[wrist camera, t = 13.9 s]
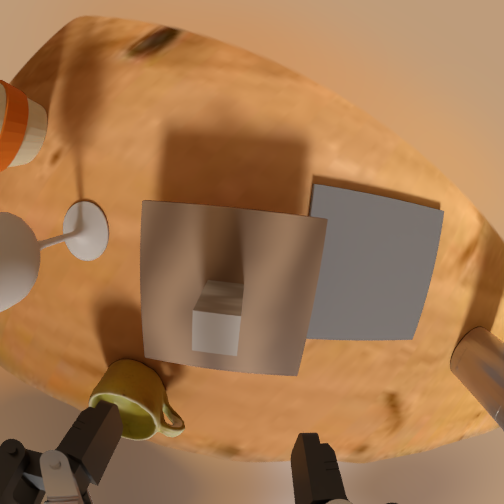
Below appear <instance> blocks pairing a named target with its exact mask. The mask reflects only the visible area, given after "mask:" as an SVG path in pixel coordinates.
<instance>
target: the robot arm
mask: <svg viewBox="0 0 504 504" xmlns="http://www.w3.org/2000/svg"><path fill="white" fill-rule="evenodd" d="M450 368H451V371H452V373H453V374H454V375H455V376H456V377H457V378H458V379H459V380H460V381H461V382H462V383H463V385H464V386H465V387H466V388H467V389H468V390H469V391H470V392H471V393H472V395H473V396H474V397H475V398H476V399H477V400H478V401H479V402H480V404H481V405H482V406H483V407H484V408H485V409H486V410H487V412H488V413H489V414H490V415H491V416H492V417H493V419H494V420H495V421H496V422H497V423H498V424H499V426H500V427H501V428H502V429H503V431H504V342H502V341H501V340H500V339H498V338H497V337H496V336H494V335H493V334H492V333H490V332H489V331H488V330H486V329H485V328H483V327H477V328H475V329H473V330H471V331H470V332H469V333H468V334H467V335H466V336H465V337H464V338H463V339H462V340H461V341H460V343H459V344H458V346H457V347H456V349H455V351H454V353H453V356H452V358H451V363H450ZM122 432H123V424H122V420H121V417H120V413H119V409H118V406H117V405H116V404H113V403H110V402H107V401H104V400H100V401H99V402H98V404H97V405H96V407H95V408H93V407H88V408H87V409H85V410H84V411H82V412H81V413H80V415H79V416H78V418H77V420H76V421H75V422H74V424H73V425H72V427H71V428H70V429H69V431H68V432H67V434H66V435H65V437H64V438H63V440H62V441H61V443H60V445H59V446H58V447H57V449H55V450H49V451H46V452H44V453H39V452H35V451H31V450H27V449H25V448H24V446H23V445H22V443H20V442H19V441H17V440H15V439H8V440H6V441H4V442H3V443H2V444H1V446H0V504H41V501H42V499H43V497H44V495H45V493H46V495H47V501H45V502H44V504H93V501H92V499H91V496H90V493H89V491H88V486H89V483H92V484H95V485H98V484H99V482H100V480H101V478H102V476H103V473H104V471H105V469H106V467H107V465H108V463H109V461H110V459H111V456H112V455H113V452H114V450H115V448H116V446H117V444H118V442H119V440H120V438H121V436H122ZM291 468H292V478H293V487H294V495H295V504H352V503H351V502H350V501H349V500H348V499H347V497H346V495H345V490H344V486H343V482H342V479H341V474H340V471H339V467H338V463H337V459H336V455H335V452H334V450H333V449H332V448H331V447H330V445H329V444H328V443H323V444H320V441H319V436H318V434H317V433H299V435H298V438H297V440H296V443H295V445H294V448H293V450H292V454H291ZM387 504H397V503H387Z"/></svg>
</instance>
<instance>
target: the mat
mask: <svg viewBox="0 0 504 504" xmlns="http://www.w3.org/2000/svg"><path fill="white" fill-rule="evenodd" d="M443 215H444V211H441V210H438V209H434V208H430V207H426V206H422V205H418V204H414V203H410V202H406V201H401V200H397V199H392V198H388V197H383V196H378V195H374V194H369V193H364V192H358V191H353V190H348V189H342V188H336V187H331V186H325V185H318V184H313V187H312V195H311V203H310V211H309V216H311V217H318V218H325V219H328V222H327V229H326V235H325V242H324V248H323V254H322V260H321V266H320V272H319V278H318V283H317V288H316V294H315V299H314V304H313V309H312V314H311V318H310V323H309V328H308V332H307V337H306V339H327V340H412V339H413V336H414V334H415V331H416V328H417V325H418V322H419V319H420V316H421V313H422V309H423V306H424V303H425V299H426V296H427V292H428V289H429V285H430V281H431V277H432V273H433V269H434V264H435V260H436V255H437V250H438V245H439V240H440V234H441V228H442V222H443Z"/></svg>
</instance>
